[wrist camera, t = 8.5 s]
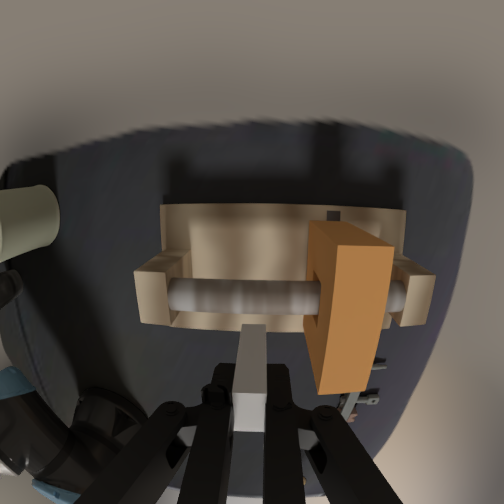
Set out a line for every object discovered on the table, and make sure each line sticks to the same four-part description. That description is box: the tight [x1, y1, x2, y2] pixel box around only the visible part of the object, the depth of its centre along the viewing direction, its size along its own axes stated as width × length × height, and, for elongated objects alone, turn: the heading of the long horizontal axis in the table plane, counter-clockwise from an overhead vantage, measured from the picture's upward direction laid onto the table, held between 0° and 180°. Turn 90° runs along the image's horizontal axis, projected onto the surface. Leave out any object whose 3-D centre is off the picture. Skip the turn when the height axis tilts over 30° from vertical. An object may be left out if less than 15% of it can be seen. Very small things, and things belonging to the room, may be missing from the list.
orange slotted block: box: [303, 220, 395, 395], centre depth 24 cm, size 4×12×12 cm, turn 0°
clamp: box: [337, 364, 387, 422], centre depth 35 cm, size 15×2×10 cm
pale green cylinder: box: [0, 185, 60, 262], centre depth 26 cm, size 9×9×12 cm
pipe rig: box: [134, 203, 436, 332], centre depth 27 cm, size 28×15×10 cm, turn 90°
